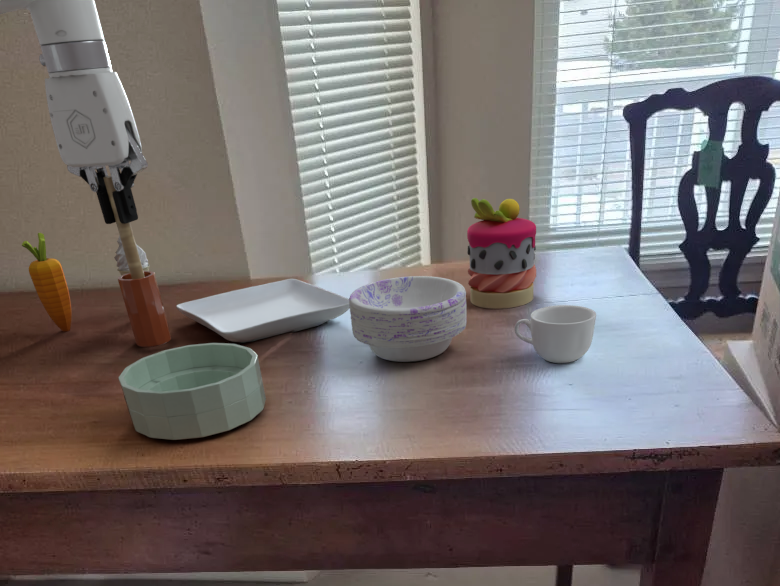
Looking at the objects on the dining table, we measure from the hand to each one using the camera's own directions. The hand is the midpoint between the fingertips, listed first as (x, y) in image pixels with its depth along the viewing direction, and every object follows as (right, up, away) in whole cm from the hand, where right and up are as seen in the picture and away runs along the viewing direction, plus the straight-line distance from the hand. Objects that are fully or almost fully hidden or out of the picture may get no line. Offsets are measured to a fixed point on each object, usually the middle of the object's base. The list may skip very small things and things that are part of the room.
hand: (122, 220), depth 100 cm
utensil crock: (+1, -14, +9) cm, 17 cm away
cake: (+54, -6, +15) cm, 56 cm away
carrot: (-16, -11, +18) cm, 26 cm away
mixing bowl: (+15, -29, -14) cm, 36 cm away
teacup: (+58, -21, -7) cm, 62 cm away
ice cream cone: (-4, -7, +22) cm, 23 cm away
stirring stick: (+1, -12, +8) cm, 15 cm away
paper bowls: (+40, -18, -1) cm, 44 cm away
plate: (+17, -10, +14) cm, 24 cm away
